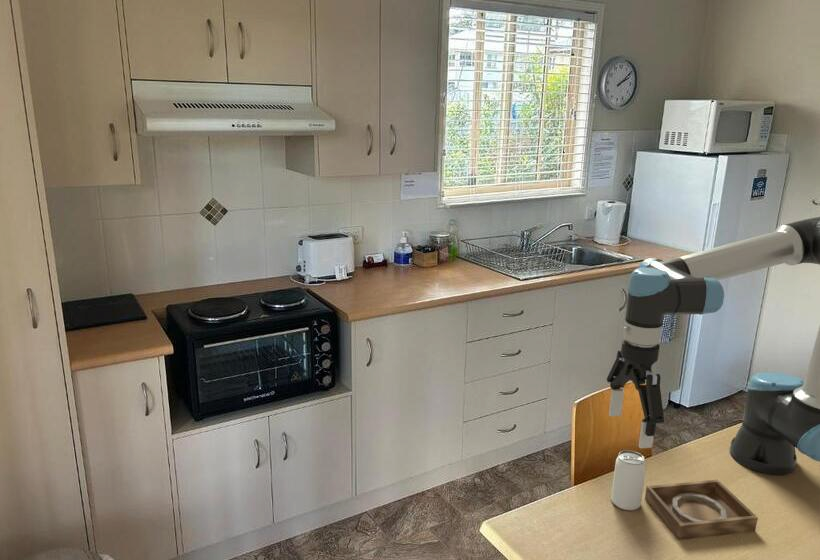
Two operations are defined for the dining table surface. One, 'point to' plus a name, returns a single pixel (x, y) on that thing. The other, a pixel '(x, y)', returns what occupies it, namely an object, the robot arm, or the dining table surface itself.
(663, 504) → the walled box
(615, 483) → the can
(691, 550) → the dining table surface
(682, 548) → the dining table surface
